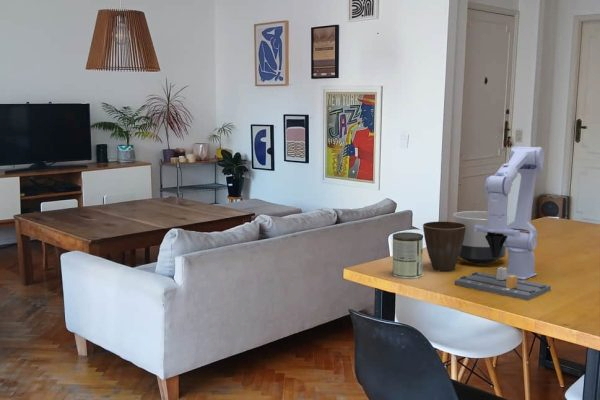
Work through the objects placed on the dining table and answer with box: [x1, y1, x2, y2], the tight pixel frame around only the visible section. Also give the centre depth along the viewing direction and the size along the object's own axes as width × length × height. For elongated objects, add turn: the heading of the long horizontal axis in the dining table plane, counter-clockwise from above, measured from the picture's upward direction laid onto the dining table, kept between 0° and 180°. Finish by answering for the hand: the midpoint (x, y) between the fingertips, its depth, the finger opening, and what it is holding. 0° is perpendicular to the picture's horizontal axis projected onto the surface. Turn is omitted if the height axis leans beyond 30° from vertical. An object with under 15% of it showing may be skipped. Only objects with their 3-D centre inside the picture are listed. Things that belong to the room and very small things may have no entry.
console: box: [454, 271, 552, 301], centre depth 201 cm, size 15×25×2 cm, turn 44°
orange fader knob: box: [506, 275, 517, 289], centre depth 194 cm, size 3×2×4 cm, turn 134°
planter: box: [452, 210, 508, 265], centre depth 236 cm, size 19×19×18 cm
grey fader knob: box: [496, 266, 508, 280], centre depth 204 cm, size 3×2×4 cm, turn 134°
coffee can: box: [392, 231, 424, 280], centre depth 217 cm, size 10×10×14 cm
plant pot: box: [422, 221, 466, 272], centre depth 225 cm, size 15×15×16 cm
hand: (495, 257), depth 198 cm, fingers closed
